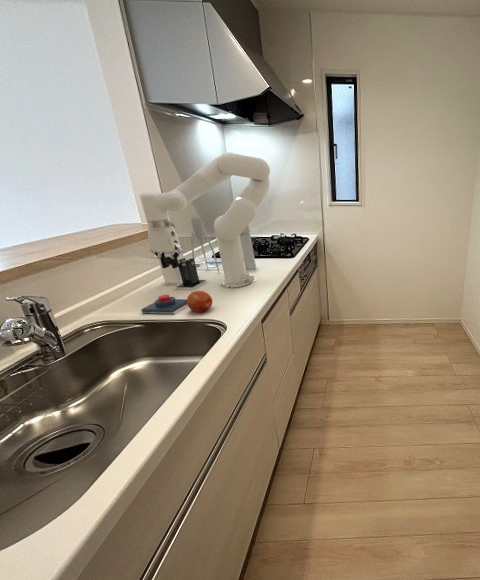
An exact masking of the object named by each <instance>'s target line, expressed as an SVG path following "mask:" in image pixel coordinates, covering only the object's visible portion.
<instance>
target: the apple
mask: <svg viewBox="0 0 480 580" xmlns="http://www.w3.org/2000/svg"><path fill="white" fill-rule="evenodd" d="M186 299H187V304H186V305H187V307H188V308H189V309H190V310H192V311H194V312H196V313H204V312H206V311H209V310H210V308H211V307H212V305H213V298H212V296H211V295H210V294H209V293H208V292H206V291H203V290H195V291H192V292H191V293H190V294H188V295H187V298H186Z"/></svg>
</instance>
